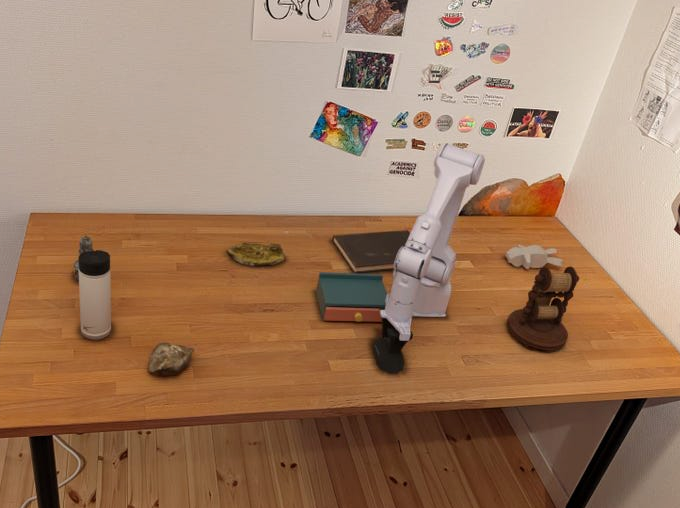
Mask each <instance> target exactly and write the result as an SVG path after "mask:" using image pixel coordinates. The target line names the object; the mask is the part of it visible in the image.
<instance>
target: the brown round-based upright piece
mask: <svg viewBox="0 0 680 508" xmlns="http://www.w3.org/2000/svg"><path fill="white" fill-rule="evenodd" d="M579 281H580V276H579V275H578V273H577V270H576V269H575V268H574V267H573V266H567V267H565V269H564V271H563V272H552V271H551V269H550V268H549V267H548V266H546V265H544V266H543V267H541V268H540V269H539V271H538V274H536V275H535V276H534V281H533V286H532V287H531V290H529V291H528V293H527V297H528V298H527V299H528V300H527V301H526V303H525V306H524V307H523V308H519V309H516V310H513V311H512V312H511V313H510V314H509V315H508V317H507V320H506V327H507V329H508V331H509V332H510V334H511V335H512V336H513V337H514V338H515V339H517V340H518V341H519V342H520V343H522V344H524V349H528V348H529V347H531V348H534V349H536V350H537V349H538V350H542V351H555V350H559V349H561V348H563V347H565V345H566V344H567V341H568V338H569V332H568V330H567V328H566V327H565V325H564V324H563V323H562V321H563V317H564V315H565V313H566V312H567V307H568V305H569V301H570V300H572V299H573V298H574V292H573V291H575V288H576V287H577V284H578V282H579ZM561 298H563V300H561Z"/></svg>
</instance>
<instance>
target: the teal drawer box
mask: <svg viewBox="0 0 680 508" xmlns="http://www.w3.org/2000/svg"><path fill="white" fill-rule="evenodd" d="M383 278H384V275H383V274H382V273H381V274H380V273H379V274H378V273H353V272H330V271H329V272H328V271H327V272H326V271H320V272H319V274H318V279H317V285H316V290H315V294H316V298H317V301H318V305H319V310H320V315H321V319H322V321H325V320H324V314H325V309H326V307H329V306H351V307H386V302H385V300H386V296H387V294H388V291H387V289H386V286H385V283H384V281H383V280H384V279H383Z"/></svg>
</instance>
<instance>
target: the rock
mask: <svg viewBox="0 0 680 508" xmlns="http://www.w3.org/2000/svg"><path fill="white" fill-rule="evenodd" d="M194 351H195V348H194V347H190V346H187V345H181V344H171V343H170V342H159V343H158V344H156V345H155V347H154V348H153V349H152V351H151V354H150V359H149V362H148V366H147V369H148V371H149V373H152V374H156V375H159V376H172V375H175V374H178V373H180V372H181V371H182V370H184V369H186V368H187V367H188V366H189V364H190V361H191V357H192V354H193V352H194Z"/></svg>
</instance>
